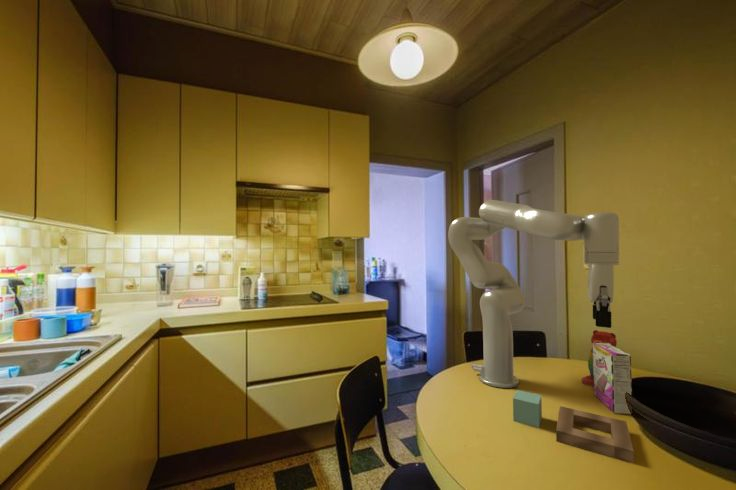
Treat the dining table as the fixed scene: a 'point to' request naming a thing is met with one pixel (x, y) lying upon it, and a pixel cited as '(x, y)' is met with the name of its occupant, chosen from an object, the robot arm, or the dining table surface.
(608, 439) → the walnut puzzle board
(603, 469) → the dining table surface
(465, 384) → the dining table surface
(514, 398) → the teal cube
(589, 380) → the stacking bear
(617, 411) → the candy bar box
